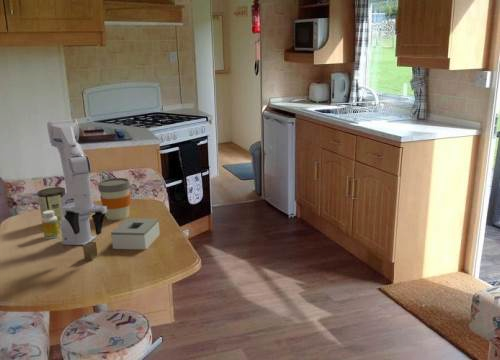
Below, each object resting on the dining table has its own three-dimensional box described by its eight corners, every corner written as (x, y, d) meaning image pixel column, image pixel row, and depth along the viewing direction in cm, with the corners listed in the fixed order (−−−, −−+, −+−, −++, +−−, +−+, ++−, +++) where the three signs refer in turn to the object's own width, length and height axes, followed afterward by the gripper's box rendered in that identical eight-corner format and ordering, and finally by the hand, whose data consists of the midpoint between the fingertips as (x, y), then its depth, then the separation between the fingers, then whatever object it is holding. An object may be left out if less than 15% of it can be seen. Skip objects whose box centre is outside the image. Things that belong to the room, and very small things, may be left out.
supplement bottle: (54, 239, 179) (50, 214, 176) (41, 238, 180) (37, 213, 177) (62, 233, 184) (59, 209, 181) (50, 233, 185) (46, 209, 182)
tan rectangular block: (84, 260, 159) (82, 246, 157) (90, 255, 162) (88, 241, 161) (92, 260, 158) (90, 246, 157) (97, 255, 162) (95, 241, 161)
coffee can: (59, 218, 202) (54, 185, 198) (75, 221, 197) (70, 188, 193) (37, 226, 194) (31, 192, 190) (53, 230, 188) (47, 195, 185)
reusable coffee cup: (109, 211, 208) (105, 177, 204) (137, 211, 206) (134, 177, 202) (97, 221, 196) (92, 186, 192) (126, 221, 194) (122, 185, 190)
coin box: (113, 248, 167) (111, 232, 166) (129, 233, 181) (127, 218, 179) (145, 249, 165) (144, 233, 164) (159, 234, 179) (158, 219, 177)
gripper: (54, 197, 152) (61, 237, 156) (97, 197, 150) (103, 238, 153) (66, 190, 159) (72, 229, 162) (107, 191, 156) (112, 230, 160)
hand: (88, 233), depth 158 cm, fingers open, 7 cm apart
